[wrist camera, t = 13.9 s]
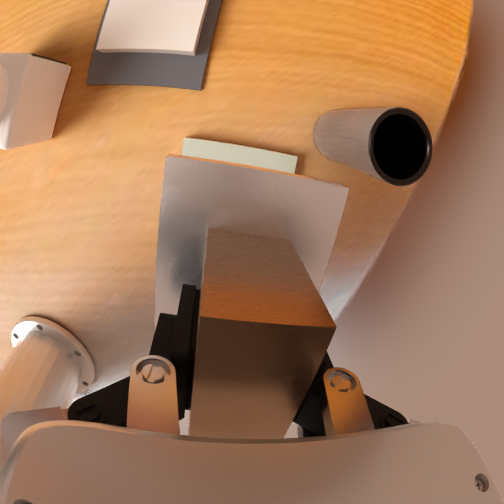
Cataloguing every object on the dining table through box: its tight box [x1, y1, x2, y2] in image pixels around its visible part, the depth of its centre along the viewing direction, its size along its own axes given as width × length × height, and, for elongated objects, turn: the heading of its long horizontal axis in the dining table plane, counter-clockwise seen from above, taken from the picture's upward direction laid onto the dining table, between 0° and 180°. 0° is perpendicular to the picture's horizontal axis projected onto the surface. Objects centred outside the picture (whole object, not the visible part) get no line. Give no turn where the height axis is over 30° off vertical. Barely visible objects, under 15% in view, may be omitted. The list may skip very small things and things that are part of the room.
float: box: [154, 154, 349, 439], centre depth 11 cm, size 12×7×6 cm, turn 169°
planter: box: [314, 107, 432, 186], centre depth 19 cm, size 4×4×10 cm
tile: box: [96, 0, 209, 56], centre depth 17 cm, size 2×8×8 cm
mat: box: [87, 0, 222, 90], centre depth 18 cm, size 12×10×1 cm
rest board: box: [182, 137, 298, 174], centre depth 25 cm, size 12×9×1 cm
